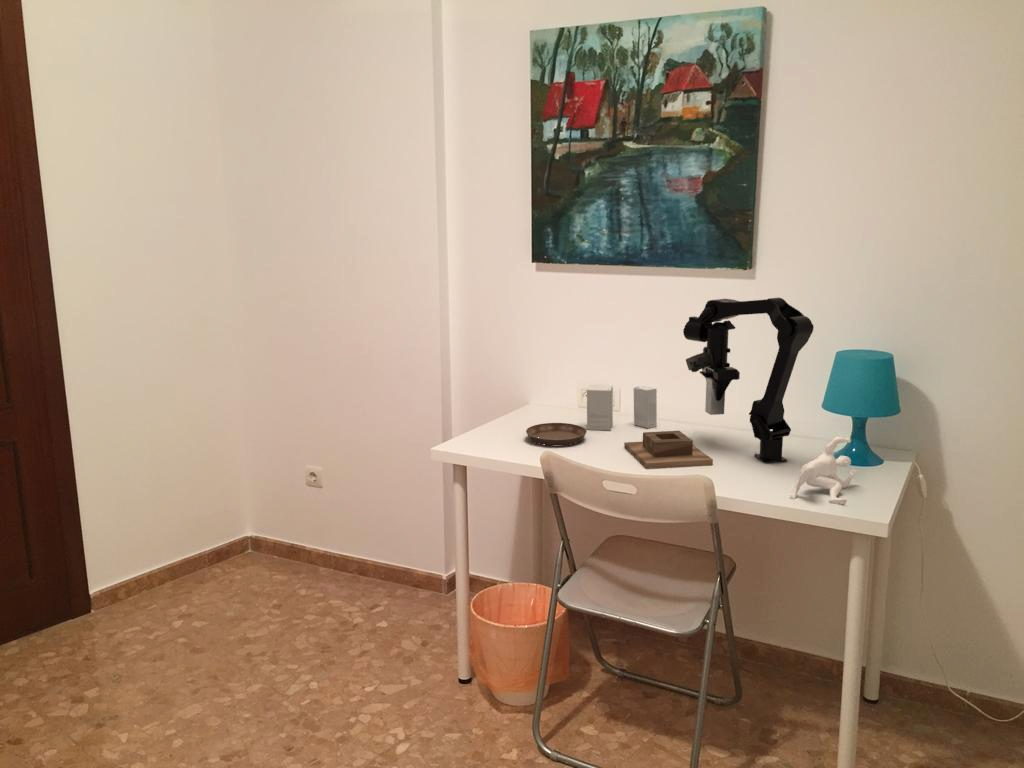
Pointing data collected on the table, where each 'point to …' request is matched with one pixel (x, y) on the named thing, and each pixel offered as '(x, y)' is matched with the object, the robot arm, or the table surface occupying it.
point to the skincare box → (645, 406)
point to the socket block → (667, 450)
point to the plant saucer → (556, 433)
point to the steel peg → (713, 399)
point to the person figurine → (826, 472)
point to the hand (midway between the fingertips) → (715, 398)
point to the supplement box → (599, 407)
